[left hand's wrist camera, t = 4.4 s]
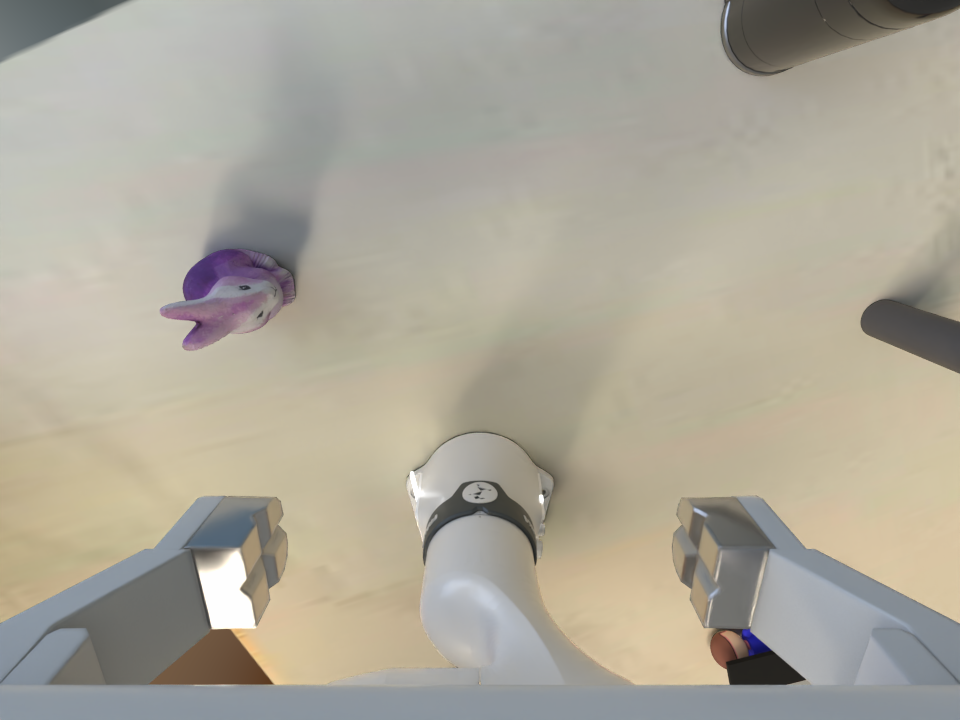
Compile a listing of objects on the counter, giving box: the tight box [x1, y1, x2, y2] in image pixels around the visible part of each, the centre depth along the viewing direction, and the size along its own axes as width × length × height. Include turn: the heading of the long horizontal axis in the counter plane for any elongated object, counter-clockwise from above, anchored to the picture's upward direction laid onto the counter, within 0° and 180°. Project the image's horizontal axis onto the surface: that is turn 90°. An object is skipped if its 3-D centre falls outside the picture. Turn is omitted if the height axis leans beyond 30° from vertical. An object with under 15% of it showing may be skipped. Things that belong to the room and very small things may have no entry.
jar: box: [861, 300, 960, 373], centre depth 51 cm, size 4×4×15 cm
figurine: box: [160, 249, 295, 351], centre depth 50 cm, size 9×10×15 cm
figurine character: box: [710, 629, 806, 685], centre depth 71 cm, size 7×8×15 cm
